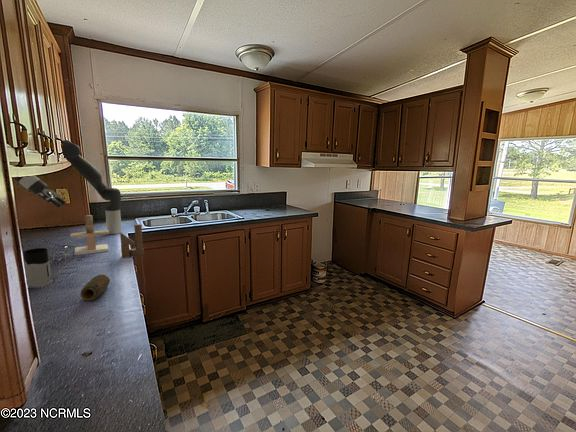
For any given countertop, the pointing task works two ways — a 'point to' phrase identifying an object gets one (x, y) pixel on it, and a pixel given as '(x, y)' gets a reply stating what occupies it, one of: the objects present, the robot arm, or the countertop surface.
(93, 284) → the olive brown hollow cylinder
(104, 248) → the stand
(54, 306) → the countertop surface
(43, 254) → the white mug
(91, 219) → the bar
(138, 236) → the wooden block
